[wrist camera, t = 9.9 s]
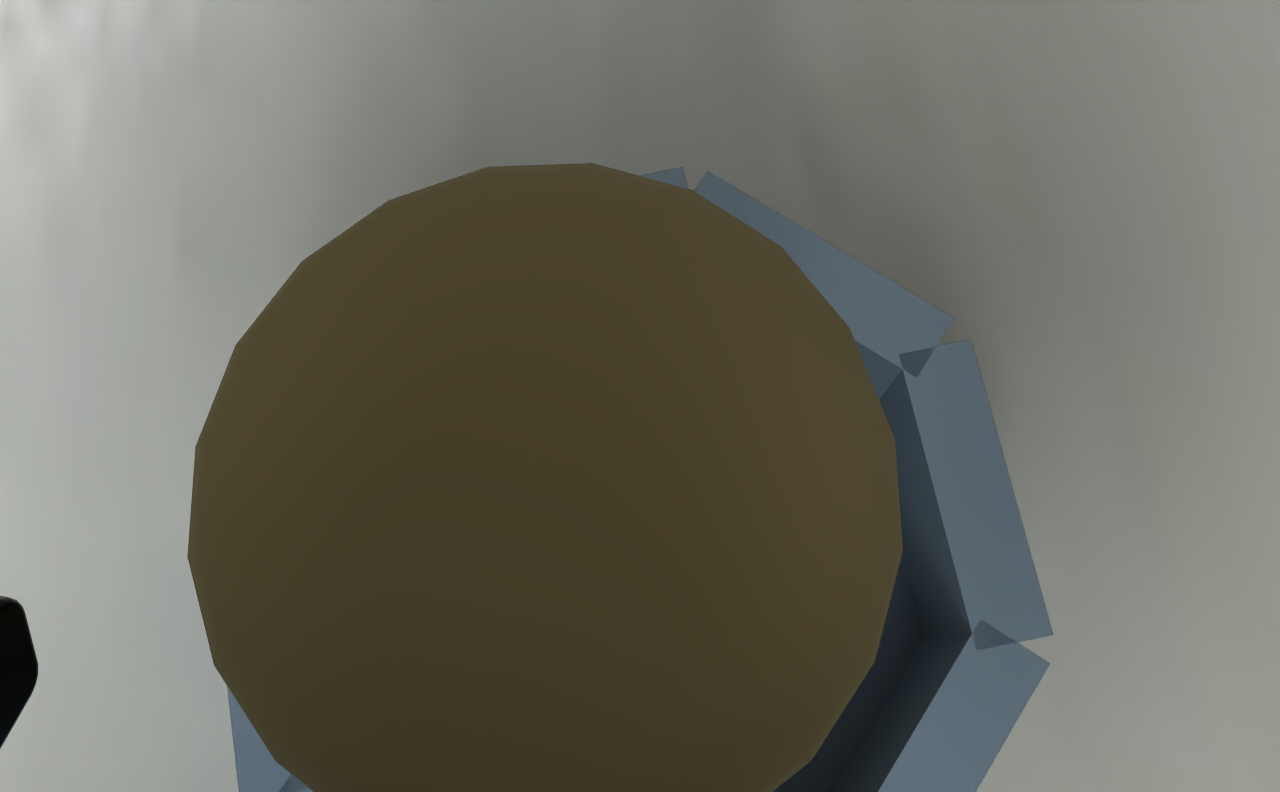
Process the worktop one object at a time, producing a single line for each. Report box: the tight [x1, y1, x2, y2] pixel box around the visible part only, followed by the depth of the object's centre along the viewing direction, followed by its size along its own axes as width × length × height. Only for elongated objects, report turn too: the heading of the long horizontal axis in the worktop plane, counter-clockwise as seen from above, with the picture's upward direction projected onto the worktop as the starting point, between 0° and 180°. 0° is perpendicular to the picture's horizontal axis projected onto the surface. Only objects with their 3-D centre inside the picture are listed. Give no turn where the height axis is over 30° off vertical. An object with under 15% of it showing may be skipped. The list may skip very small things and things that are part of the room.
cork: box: [188, 163, 903, 792], centre depth 12 cm, size 6×6×11 cm
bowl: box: [227, 167, 1053, 792], centre depth 16 cm, size 11×11×4 cm
